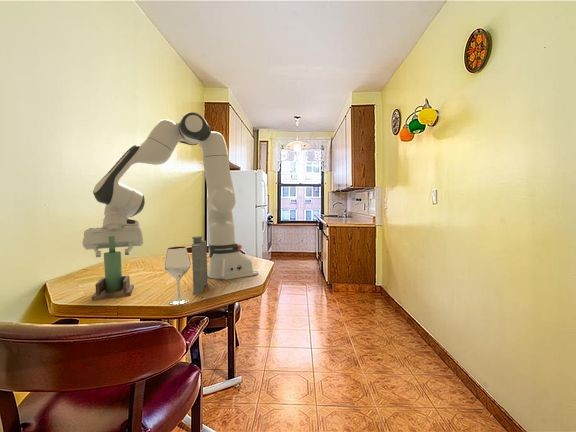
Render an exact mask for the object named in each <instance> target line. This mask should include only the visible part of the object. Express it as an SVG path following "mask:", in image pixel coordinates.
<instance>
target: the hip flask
mask: <svg viewBox="0 0 576 432" xmlns="http://www.w3.org/2000/svg"><path fill="white" fill-rule="evenodd" d="M191 239H192V242H193V243H191V261H192V265H191V266H192V288H193V295H196V294H197V295H202V294H203V290H204V288H205V287H206V286H207V285H208V284H209V281H208V280H209V277H208V275H207V274H208V251H207V240H202V239H203V236H192V238H191ZM205 285H206V286H205ZM204 286H205V287H204ZM201 293H202V294H201Z"/></svg>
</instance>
